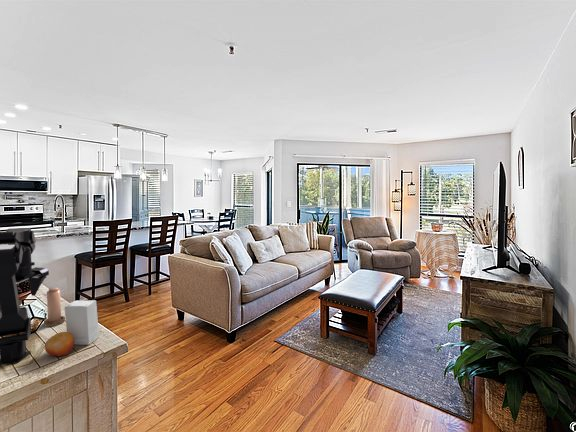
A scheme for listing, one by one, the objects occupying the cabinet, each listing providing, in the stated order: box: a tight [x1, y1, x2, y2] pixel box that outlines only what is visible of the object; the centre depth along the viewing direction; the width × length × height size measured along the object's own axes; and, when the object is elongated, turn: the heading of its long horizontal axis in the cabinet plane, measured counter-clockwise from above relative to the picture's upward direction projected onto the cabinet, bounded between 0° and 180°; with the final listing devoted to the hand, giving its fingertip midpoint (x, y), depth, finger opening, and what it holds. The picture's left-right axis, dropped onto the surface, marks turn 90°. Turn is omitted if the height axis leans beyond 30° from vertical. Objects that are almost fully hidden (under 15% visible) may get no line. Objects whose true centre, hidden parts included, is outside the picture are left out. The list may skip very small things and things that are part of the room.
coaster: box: [43, 315, 66, 327], centre depth 123 cm, size 7×7×1 cm
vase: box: [46, 287, 62, 323], centre depth 122 cm, size 4×4×14 cm
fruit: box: [44, 331, 74, 357], centre depth 101 cm, size 8×8×8 cm
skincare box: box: [64, 299, 100, 346], centre depth 108 cm, size 8×6×15 cm
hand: (23, 300), depth 112 cm, fingers open, 9 cm apart
